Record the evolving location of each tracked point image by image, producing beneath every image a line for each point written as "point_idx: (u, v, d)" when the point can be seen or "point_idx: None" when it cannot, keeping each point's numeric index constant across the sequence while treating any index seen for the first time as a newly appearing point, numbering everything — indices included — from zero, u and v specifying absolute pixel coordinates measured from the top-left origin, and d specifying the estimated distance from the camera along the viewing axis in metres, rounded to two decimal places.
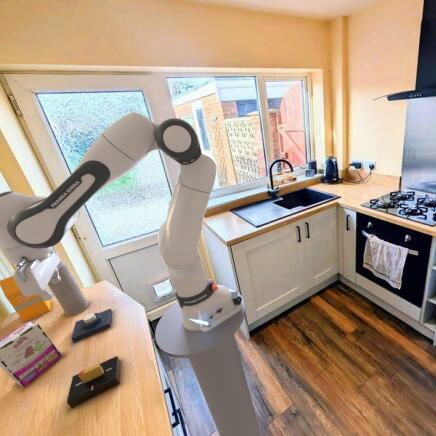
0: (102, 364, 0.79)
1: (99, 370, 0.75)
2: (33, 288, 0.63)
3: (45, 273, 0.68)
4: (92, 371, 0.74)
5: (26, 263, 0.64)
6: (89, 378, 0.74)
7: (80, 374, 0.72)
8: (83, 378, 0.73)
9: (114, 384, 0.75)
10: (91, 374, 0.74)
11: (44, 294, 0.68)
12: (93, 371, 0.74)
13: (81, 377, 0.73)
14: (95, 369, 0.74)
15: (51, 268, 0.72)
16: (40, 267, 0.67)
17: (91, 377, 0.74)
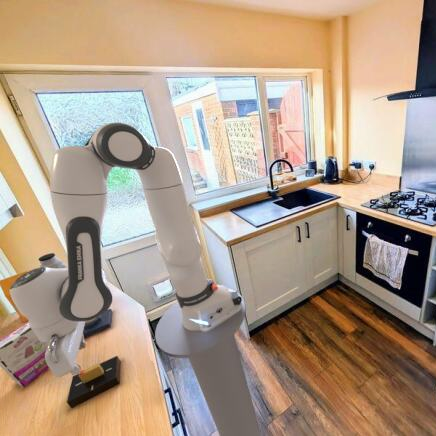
0: (102, 364, 0.79)
1: (99, 370, 0.75)
2: (64, 368, 0.61)
3: (73, 346, 0.66)
4: (92, 371, 0.74)
5: (57, 341, 0.62)
6: (89, 378, 0.74)
7: (80, 374, 0.72)
8: (83, 378, 0.73)
9: (114, 384, 0.75)
10: (91, 374, 0.74)
11: None
12: (93, 371, 0.74)
13: (81, 377, 0.73)
14: (95, 369, 0.74)
15: (78, 337, 0.71)
16: (69, 341, 0.66)
17: (91, 377, 0.74)
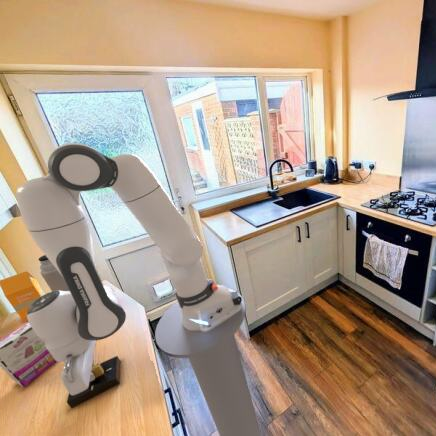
0: (102, 364, 0.79)
1: (99, 370, 0.75)
2: (79, 387, 0.64)
3: (87, 365, 0.70)
4: (92, 371, 0.74)
5: (72, 361, 0.65)
6: None
7: None
8: None
9: (114, 384, 0.75)
10: None
11: None
12: (93, 371, 0.74)
13: None
14: (95, 369, 0.74)
15: (91, 355, 0.74)
16: (83, 360, 0.69)
17: None
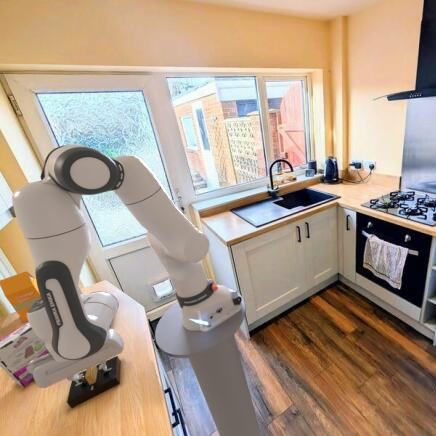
0: None
1: None
2: None
3: (64, 371, 0.69)
4: None
5: (48, 359, 0.67)
6: None
7: None
8: None
9: (114, 384, 0.75)
10: None
11: None
12: None
13: None
14: None
15: (86, 364, 0.71)
16: (62, 365, 0.68)
17: None
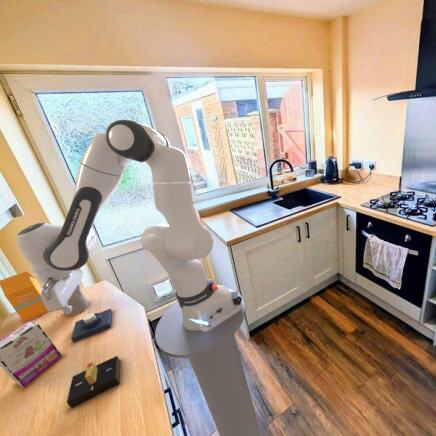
0: (102, 364, 0.79)
1: None
2: (55, 305, 0.75)
3: (66, 290, 0.81)
4: None
5: (51, 283, 0.76)
6: None
7: (87, 365, 0.75)
8: None
9: (114, 384, 0.75)
10: None
11: (65, 308, 0.80)
12: None
13: None
14: None
15: (73, 285, 0.85)
16: (63, 286, 0.80)
17: None
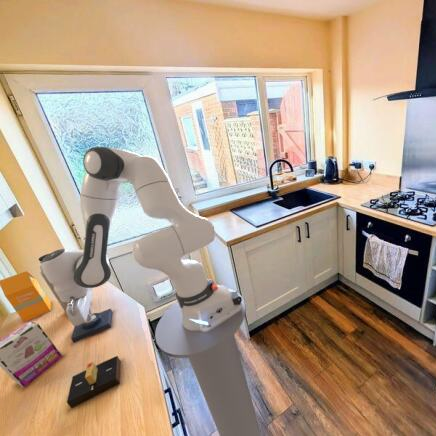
0: (102, 364, 0.79)
1: None
2: (79, 320, 0.87)
3: (85, 307, 0.92)
4: None
5: (74, 301, 0.88)
6: None
7: (87, 365, 0.75)
8: None
9: (114, 384, 0.75)
10: None
11: None
12: None
13: None
14: None
15: (88, 301, 0.96)
16: (82, 303, 0.91)
17: None
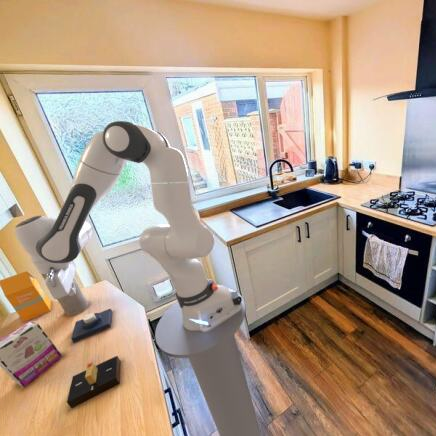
0: (102, 364, 0.79)
1: None
2: (61, 292, 0.79)
3: (67, 279, 0.84)
4: None
5: (54, 272, 0.80)
6: None
7: (87, 365, 0.75)
8: None
9: (114, 384, 0.75)
10: None
11: (69, 290, 0.87)
12: None
13: None
14: None
15: (71, 275, 0.88)
16: (64, 275, 0.83)
17: None
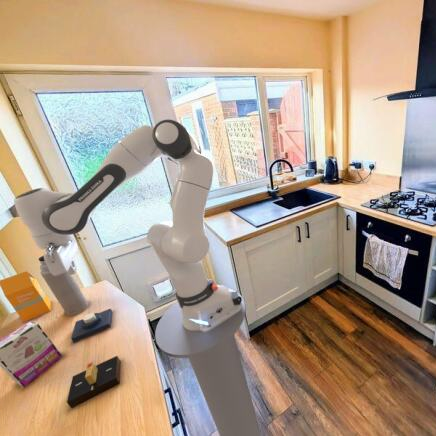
0: (102, 364, 0.79)
1: None
2: (59, 268, 0.76)
3: (67, 257, 0.81)
4: None
5: (53, 248, 0.77)
6: None
7: (87, 365, 0.75)
8: None
9: (114, 384, 0.75)
10: None
11: (69, 269, 0.84)
12: None
13: None
14: None
15: (72, 254, 0.85)
16: (64, 252, 0.80)
17: None
